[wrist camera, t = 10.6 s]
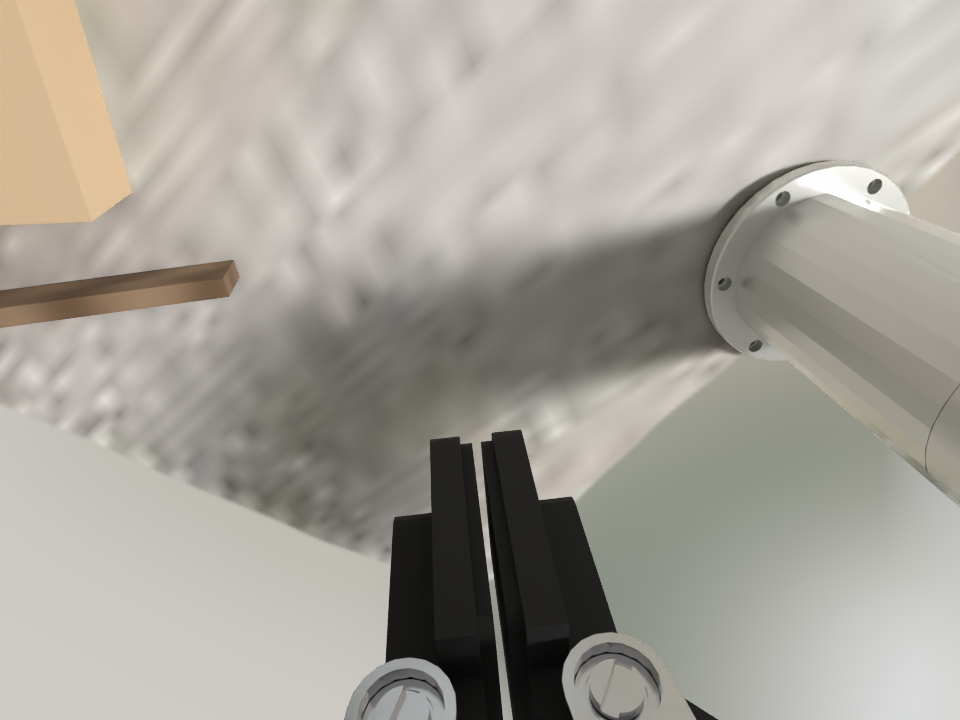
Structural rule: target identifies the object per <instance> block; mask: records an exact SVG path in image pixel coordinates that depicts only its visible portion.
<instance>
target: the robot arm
mask: <svg viewBox="0 0 960 720" xmlns="http://www.w3.org/2000/svg"><path fill="white" fill-rule="evenodd" d="M704 294H705V305H706V309H707V313H708V317H709V319H710V320H711V322H712V324H713V326H714V328H715V330H716V331H717V332H718V333H719V334H720V335H721V336H722V337H723V338H724V339H725V340H726V341H727V342H728V343H729V344H730V345H731V346H733V347H734V348H735V349H736V350H737V351H739V352H741V353H743V354H746V355H747V356H750V357H754V358H759V359H763V360H786V359H787V360H788V361H789V362H791V363H792V364H793V365H794V366H795V367H796V368H797V369H799V370H800V371H801V372H802V373H803V374H804V375H806V376H807V377H808V378H809V379H810V380H812V381H813V382H814V383H815V384H816V385H817V386H819V387H820V388H821V389H822V390H823V391H825V392H826V393H827V394H828V395H829V396H830V397H831V398H833V399H834V400H835V401H836V402H837V403H838V404H840V405H841V406H842V407H843V408H845V410H847V411H848V412H849V413H850V414H851V415H852V416H854V417H855V418H856V419H857V420H859V421H860V422H861V423H862V424H863V425H864V426H865V427H867V428H868V429H869V430H870V431H871V432H872V433H874V434H875V435H876V436H877V437H878V438H879V439H881V440H882V441H883V442H884V443H885V444H886V445H888V446H889V447H890V448H891V449H892V450H893V451H895V452H896V453H897V454H898V455H899V456H901V457H902V458H903V459H904V460H905V461H906V462H907V463H909V464H910V465H911V466H912V467H913V468H915V469H916V470H917V471H918V472H919V473H920V474H922V475H923V476H924V477H925V478H926V479H927V480H929V481H930V482H931V483H932V484H933V485H935V486H936V487H937V488H938V489H939V490H940V491H941V492H943V493H944V494H945V495H946V496H947V497H949V498H950V499H951V500H952V501H953V502H954V503H956V504H957V505H958V506H959V507H960V233H955V232H952V231H949V230H947V229H944V228H942V227H939V226H936V225H934V224H931V223H929V222H926V221H923V220H920V219H918V218H915V217H913V216H911V215H910V211H909V208H908V203H907V200H906V198H905V196H904V195H903V193H902V191H901V190H900V188H899V186H898V185H897V184H896V183H895V182H894V181H893V180H891V179H890V178H889V177H888V176H887V175H886V174H884V173H882V172H880V171H878V170H876V169H874V168H872V167H868V166H865V165H862V164H858V163H855V162H847V161H836V160H834V161H826V162H818V163H813V164H810V165H807V166H804V167H801V168H798V169H795V170H793V171H791V172H789V173H787V174H785V175H783V176H781V177H779V178H777V179H775V180H773V181H772V182H771V183H769V184H768V185H767V186H765V187H764V188H763V189H761V190H760V191H758V192H757V193H756V194H755V195H753V196H752V197H751V198H750V199H749V200H748V201H747V202H746V203H745V204H744V205H743V206H742V207H741V208H740V209H739V210H738V211H737V213H736V214H735V215H734V217H733V218H732V219H731V221H730V222H729V223H728V225H727V226H726V227H725V229H724V230H723V232H722V234H721V236H720V238H719V239H718V241H717V243H716V245H715V247H714V249H713V252H712V255H711V258H710V260H709V263H708V266H707V272H706V277H705V283H704ZM481 448H482V459H483V470H484V482H485V493H486V504H487V515H488V526H489V537H490V548H491V557H492V565H493V573H494V580H495V588H496V595H497V603H498V610H499V618H500V625H501V632H502V641H503V648H504V656H505V663H506V671H507V678H508V686H509V693H510V701H511V708H512V716H513V720H718V719H716V718H714V717H713V716H711V715H710V714H708V713H707V712H705V711H703V710H702V709H700V708H699V707H697V706H696V705H694V704H692V703H690V702H689V701H688V700H686V699H685V698H684V696H683V695H682V693H681V691H680V689H679V687H678V686H677V684H676V682H675V680H674V678H673V677H672V675H671V673H670V671H669V669H668V667H667V666H666V665H665V663H664V662H663V661H662V659H661V658H660V657H659V655H658V654H657V653H656V652H655V651H654V650H652V649H651V648H650V647H649V646H647V645H646V644H645V643H644V642H642V641H640V640H638V639H635V638H633V637H631V636H629V635H625V634H619V633H617V632H616V628H615V625H614V622H613V619H612V616H611V613H610V610H609V607H608V603H607V601H606V597H605V594H604V591H603V588H602V585H601V582H600V578H599V575H598V572H597V569H596V566H595V563H594V561H593V557H592V554H591V551H590V548H589V544H588V541H587V538H586V535H585V532H584V529H583V526H582V523H581V520H580V516H579V513H578V510H577V507H576V504H575V502H574V500H573V498H572V497H564V498H555V499H547V500H539V499H538V495H537V491H536V487H535V483H534V479H533V475H532V471H531V467H530V463H529V459H528V455H527V451H526V447H525V443H524V439H523V435H522V431H521V430H513V431H504V432H495V433H492V441H486V442H481ZM430 462H431V507H432V513H427V514H418V515H410V516H401V517H395V518H394V523H393V537H392V555H391V575H390V592H389V611H388V628H387V647H386V663H385V664H383V665H381V666H379V667H377V668H376V669H375V670H373V671H372V672H371V673H370V674H368V675H367V676H366V677H365V678H364V679H363V680H362V682H361V683H360V684H359V686H358V687H357V688H356V690H355V691H354V692H353V695H352V697H351V700H350V702H349V705H348V707H347V710H346V714H345V718H344V720H503V715H502V705H501V693H500V683H499V673H498V662H497V651H496V640H495V631H494V623H493V614H492V606H491V597H490V589H489V580H488V572H487V564H486V556H485V547H484V539H483V531H482V523H481V515H480V506H479V498H478V490H477V482H476V474H475V465H474V457H473V449H472V443H468V444H460V437H450V438H441V439H432V440H430Z"/></svg>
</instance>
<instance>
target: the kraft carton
mask: <svg viewBox="0 0 960 720" xmlns="http://www.w3.org/2000/svg"><path fill="white" fill-rule="evenodd" d="M131 193H132V189H131V186H130V182H129V179H128V176H127V172H126V169H125V166H124V163H123V159H122V156H121V153H120V149H119V146H118V143H117V139H116V136H115V133H114V130H113V126H112V123H111V120H110V116H109V113H108V110H107V106H106V103H105V100H104V96H103V93H102V90H101V87H100V83H99V80H98V77H97V73H96V70H95V67H94V63H93V60H92V57H91V54H90V50H89V47H88V44H87V40H86V37H85V34H84V30H83V27H82V24H81V20H80V17H79V14H78V11H77V7H76V4H75V1H74V0H0V225H20V224H44V223H68V222H92V221H93V220H95V219H96V218H98V217H99V216H100V215H102V214H103V213H104V212H106V211H107V210H109V209H110V208H111V207H113V206H114V205H115V204H117V203H118V202H120V201H121V200H122V199H124V198H125V197H126V196H128V195H129V194H131Z"/></svg>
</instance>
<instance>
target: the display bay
mask: <svg viewBox="0 0 960 720" xmlns="http://www.w3.org/2000/svg"><path fill="white" fill-rule="evenodd" d="M238 279H239V275H238V272H237V269H236V266H235V263H234V260H231V261H223V262H216V263H208V264H200V265H193V266H185V267H178V268H170V269H163V270H155V271H147V272H140V273H132V274H125V275H117V276H110V277H102V278H94V279H87V280H79V281H72V282H64V283H57V284H49V285H41V286H34V287H26V288H19V289H11V290H4V291H0V328H3V327H10V326H18V325H25V324H32V323H40V322H47V321H54V320H62V319H69V318H76V317H83V316H91V315H98V314H105V313H113V312H120V311H127V310H135V309H142V308H149V307H157V306H164V305H171V304H179V303H186V302H193V301H200V300H208V299H215V298H222V297H229V296H230V294H231V292H232V290H233V288H234V286H235V284H236V283H237V281H238Z"/></svg>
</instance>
